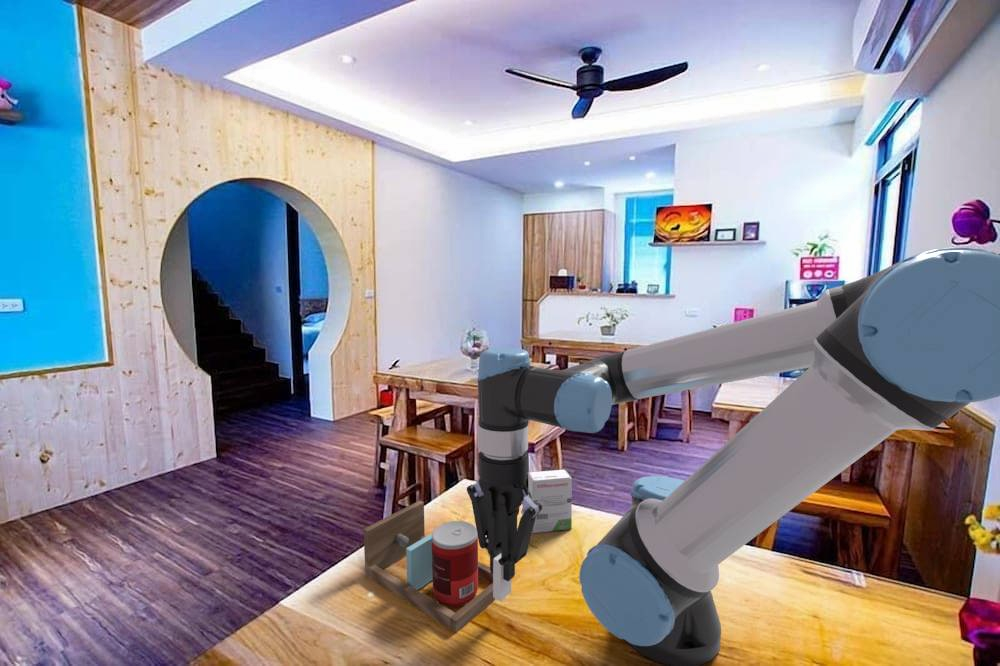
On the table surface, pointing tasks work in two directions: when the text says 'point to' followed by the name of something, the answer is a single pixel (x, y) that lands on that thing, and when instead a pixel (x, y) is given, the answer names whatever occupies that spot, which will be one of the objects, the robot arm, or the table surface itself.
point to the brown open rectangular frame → (389, 546)
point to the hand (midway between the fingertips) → (502, 594)
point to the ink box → (551, 499)
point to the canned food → (455, 563)
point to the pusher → (419, 562)
